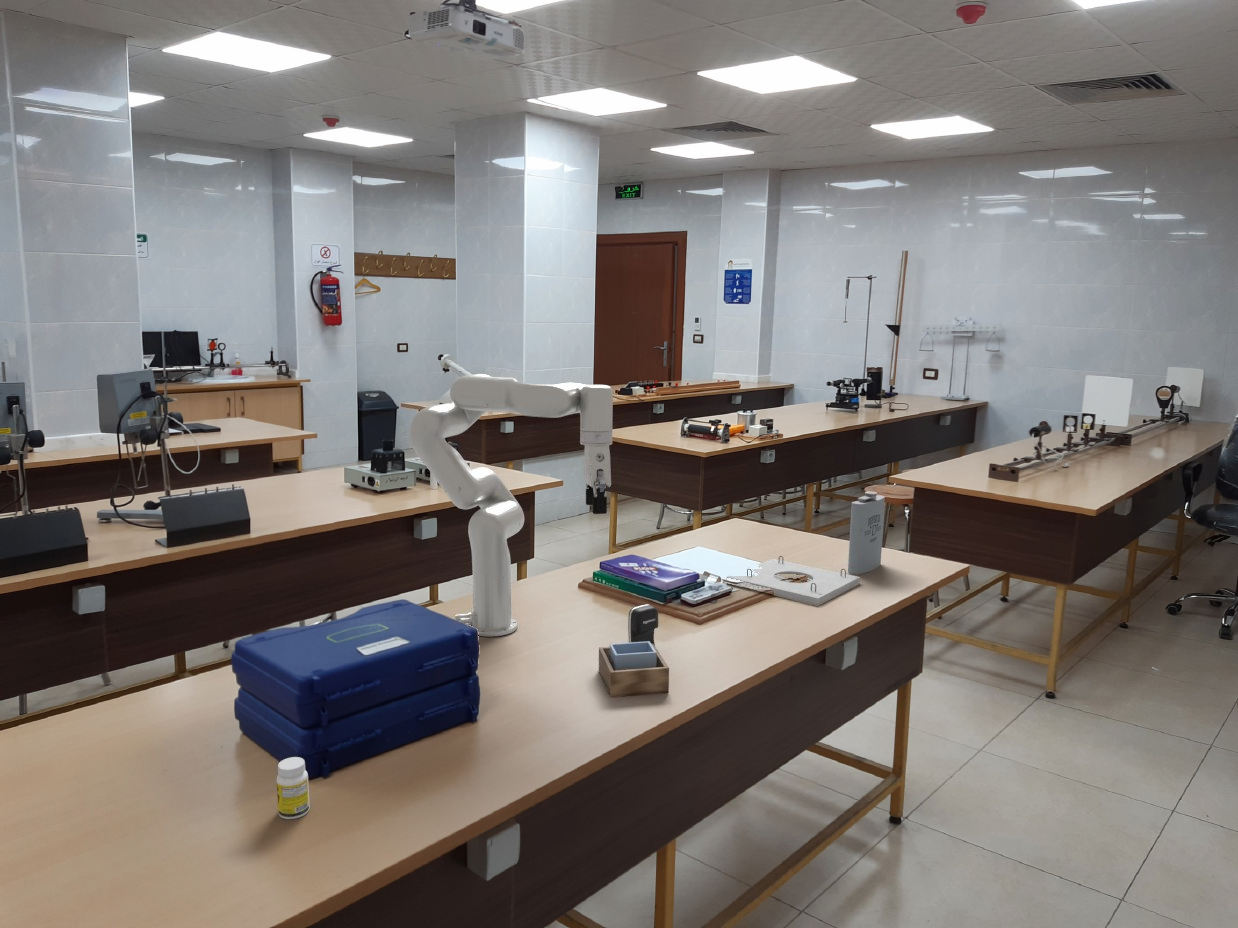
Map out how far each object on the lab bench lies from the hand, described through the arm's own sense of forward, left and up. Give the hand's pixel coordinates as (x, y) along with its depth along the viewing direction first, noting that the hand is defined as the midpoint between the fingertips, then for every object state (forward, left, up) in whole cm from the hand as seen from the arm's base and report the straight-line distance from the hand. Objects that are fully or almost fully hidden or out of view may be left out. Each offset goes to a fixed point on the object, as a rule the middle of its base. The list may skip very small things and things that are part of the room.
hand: (595, 509), depth 205 cm
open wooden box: (+4, -24, -33) cm, 41 cm away
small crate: (+4, -24, -33) cm, 41 cm away
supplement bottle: (-60, -63, -34) cm, 93 cm away
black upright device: (+10, -9, -34) cm, 36 cm away
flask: (+96, +47, -34) cm, 112 cm away
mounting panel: (+67, +36, -34) cm, 83 cm away
